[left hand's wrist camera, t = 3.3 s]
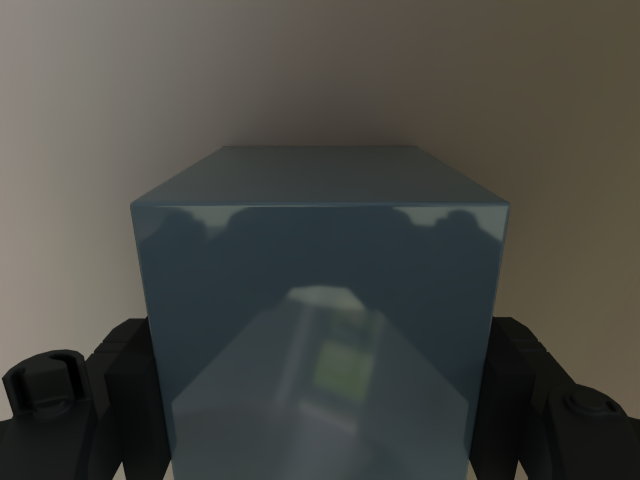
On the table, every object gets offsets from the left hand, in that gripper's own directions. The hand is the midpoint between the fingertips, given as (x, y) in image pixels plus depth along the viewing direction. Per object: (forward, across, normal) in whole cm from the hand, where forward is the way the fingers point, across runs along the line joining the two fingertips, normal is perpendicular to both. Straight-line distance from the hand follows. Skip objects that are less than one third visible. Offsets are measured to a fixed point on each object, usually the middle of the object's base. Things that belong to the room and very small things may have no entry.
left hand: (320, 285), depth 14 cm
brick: (+1, 0, 0) cm, 1 cm away
